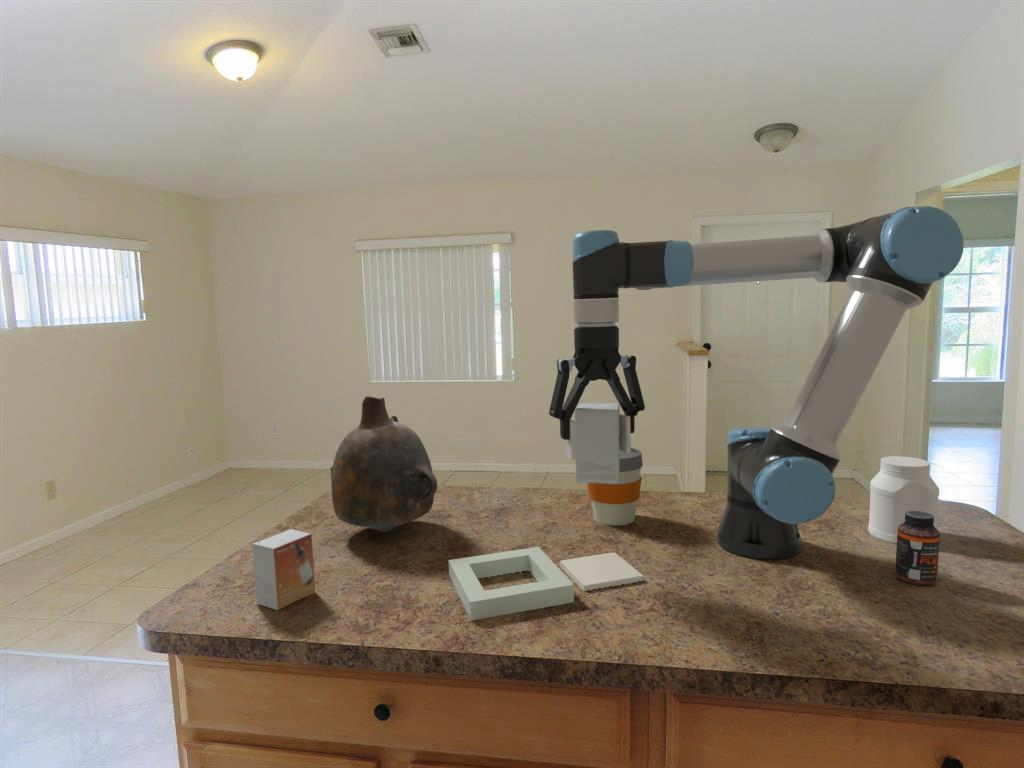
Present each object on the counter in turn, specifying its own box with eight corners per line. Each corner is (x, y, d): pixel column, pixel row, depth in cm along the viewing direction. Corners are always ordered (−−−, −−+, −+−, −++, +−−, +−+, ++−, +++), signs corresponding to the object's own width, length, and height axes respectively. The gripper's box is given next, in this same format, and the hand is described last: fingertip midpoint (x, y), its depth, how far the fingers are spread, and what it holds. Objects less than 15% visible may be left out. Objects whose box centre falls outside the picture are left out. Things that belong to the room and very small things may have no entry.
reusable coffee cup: (576, 522, 138) (574, 455, 136) (599, 506, 149) (598, 443, 147) (630, 532, 132) (630, 461, 130) (651, 514, 142) (650, 448, 140)
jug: (445, 512, 148) (439, 385, 144) (437, 548, 126) (430, 399, 123) (340, 517, 147) (331, 389, 143) (314, 553, 126) (303, 404, 122)
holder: (538, 562, 118) (538, 546, 117) (574, 602, 102) (573, 584, 101) (449, 576, 113) (448, 560, 113) (471, 620, 97) (470, 602, 96)
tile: (614, 557, 119) (614, 552, 119) (643, 581, 109) (643, 575, 108) (559, 565, 116) (559, 560, 116) (583, 591, 105) (583, 585, 105)
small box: (277, 612, 102) (272, 549, 100) (255, 604, 105) (250, 543, 103) (316, 592, 108) (312, 533, 107) (295, 585, 111) (290, 527, 110)
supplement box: (619, 484, 106) (618, 409, 104) (575, 483, 107) (573, 409, 106) (620, 472, 113) (620, 402, 111) (579, 471, 114) (577, 402, 113)
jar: (922, 527, 129) (926, 455, 127) (945, 545, 120) (949, 468, 118) (861, 525, 131) (864, 454, 129) (879, 542, 122) (882, 467, 120)
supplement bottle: (923, 590, 102) (927, 522, 101) (887, 576, 107) (890, 512, 106) (944, 581, 105) (948, 515, 103) (908, 569, 110) (911, 506, 109)
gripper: (644, 322, 113) (645, 444, 116) (526, 327, 107) (530, 456, 110) (666, 322, 106) (666, 453, 109) (541, 328, 100) (545, 466, 103)
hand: (598, 454), depth 109 cm, fingers closed on supplement box, 10 cm apart
